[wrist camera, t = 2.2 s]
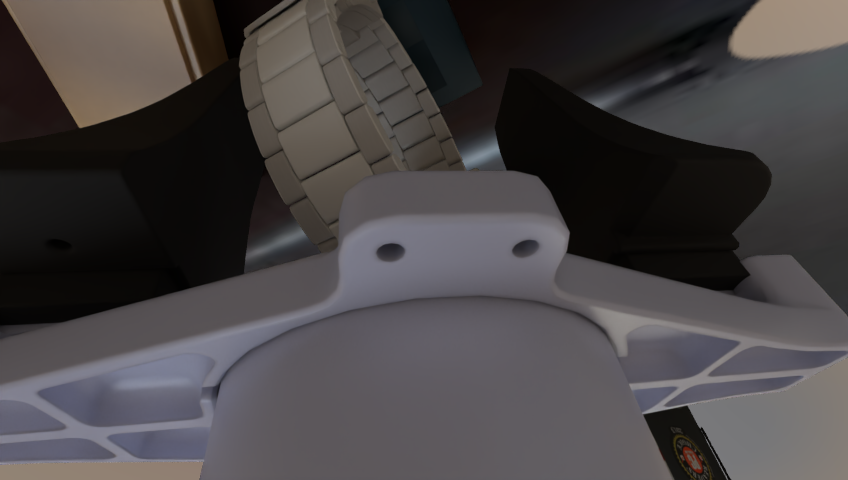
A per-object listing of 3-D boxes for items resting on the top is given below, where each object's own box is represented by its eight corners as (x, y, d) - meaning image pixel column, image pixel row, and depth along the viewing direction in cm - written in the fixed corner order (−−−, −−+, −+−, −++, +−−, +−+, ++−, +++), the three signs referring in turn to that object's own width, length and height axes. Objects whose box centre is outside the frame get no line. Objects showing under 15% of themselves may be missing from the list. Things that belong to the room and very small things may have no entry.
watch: (375, 143, 19) (384, 366, 12) (244, -32, 13) (107, 189, 6) (487, 85, 17) (576, 302, 10) (389, -141, 12) (435, -16, 5)
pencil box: (260, 178, 20) (248, 226, 18) (159, 178, 19) (135, 228, 17) (137, -292, 9) (73, -316, 7) (-91, -328, 9) (-234, -364, 7)
